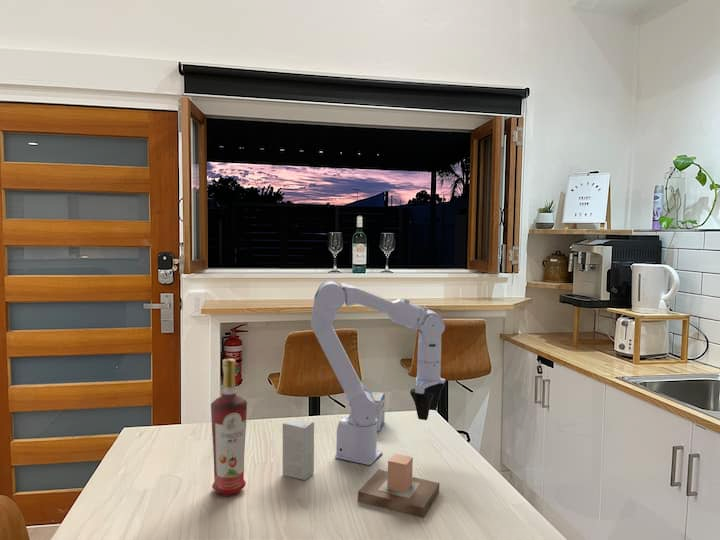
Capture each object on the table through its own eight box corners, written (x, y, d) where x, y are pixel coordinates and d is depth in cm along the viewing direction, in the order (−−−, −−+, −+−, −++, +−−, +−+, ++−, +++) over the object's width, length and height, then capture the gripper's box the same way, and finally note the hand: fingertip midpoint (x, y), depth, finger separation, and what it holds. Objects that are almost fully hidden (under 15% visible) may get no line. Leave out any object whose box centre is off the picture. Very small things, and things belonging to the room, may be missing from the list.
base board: (357, 500, 107) (357, 490, 107) (378, 477, 117) (378, 468, 117) (423, 517, 101) (423, 507, 101) (438, 492, 111) (439, 482, 111)
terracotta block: (387, 488, 108) (387, 460, 107) (394, 480, 111) (395, 453, 111) (405, 493, 106) (406, 464, 106) (412, 484, 110) (412, 457, 109)
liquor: (215, 502, 105) (215, 366, 103) (207, 486, 111) (207, 357, 109) (250, 494, 108) (251, 362, 106) (241, 479, 115) (242, 354, 113)
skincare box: (314, 473, 119) (315, 421, 118) (304, 481, 115) (305, 428, 114) (291, 467, 121) (292, 417, 120) (281, 475, 117) (281, 423, 116)
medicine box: (380, 431, 144) (380, 401, 143) (364, 430, 145) (364, 399, 144) (384, 421, 151) (385, 392, 151) (369, 420, 152) (370, 391, 152)
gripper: (436, 369, 119) (434, 426, 120) (452, 355, 132) (450, 407, 133) (407, 365, 122) (405, 421, 123) (426, 352, 135) (424, 403, 136)
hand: (427, 414), depth 128 cm, fingers open, 7 cm apart
